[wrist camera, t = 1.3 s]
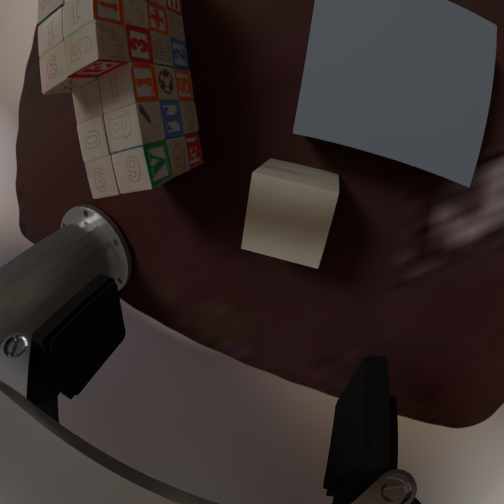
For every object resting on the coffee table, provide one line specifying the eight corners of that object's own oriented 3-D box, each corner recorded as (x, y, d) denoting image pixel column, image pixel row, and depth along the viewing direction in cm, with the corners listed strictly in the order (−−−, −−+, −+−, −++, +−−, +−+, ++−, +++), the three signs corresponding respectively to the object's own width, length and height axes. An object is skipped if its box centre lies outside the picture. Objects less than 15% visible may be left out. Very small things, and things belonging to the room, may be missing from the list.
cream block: (322, 236, 27) (317, 268, 22) (260, 220, 28) (241, 248, 23) (338, 174, 24) (339, 193, 19) (270, 158, 25) (252, 172, 20)
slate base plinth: (452, 175, 21) (469, 187, 18) (299, 129, 23) (292, 133, 20) (477, 34, 14) (496, 25, 11) (323, -16, 16) (320, -35, 13)
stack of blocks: (207, 163, 27) (125, 206, 16) (152, 172, 29) (64, 215, 18) (178, -31, 18) (97, -75, 7) (127, -9, 20) (40, -31, 9)
